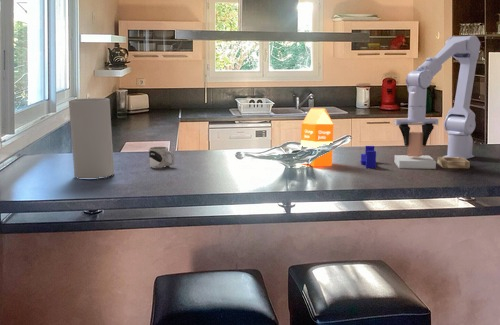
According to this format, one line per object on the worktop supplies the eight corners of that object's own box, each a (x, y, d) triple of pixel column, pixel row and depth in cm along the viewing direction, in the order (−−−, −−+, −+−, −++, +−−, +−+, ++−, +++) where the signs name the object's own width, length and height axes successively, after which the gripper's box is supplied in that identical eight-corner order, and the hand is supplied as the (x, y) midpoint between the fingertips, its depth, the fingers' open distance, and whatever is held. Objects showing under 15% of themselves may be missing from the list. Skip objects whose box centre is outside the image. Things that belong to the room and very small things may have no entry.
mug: (145, 167, 189) (145, 148, 188) (157, 164, 195) (156, 146, 194) (169, 169, 185) (168, 150, 184) (180, 166, 191) (179, 147, 189)
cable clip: (360, 162, 195) (361, 145, 194) (373, 162, 194) (374, 146, 193) (361, 168, 183) (362, 151, 182) (375, 169, 182) (376, 151, 181)
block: (422, 155, 187) (423, 132, 185) (418, 157, 183) (419, 133, 182) (411, 154, 189) (412, 131, 187) (407, 155, 186) (408, 133, 184)
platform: (428, 162, 192) (429, 155, 191) (435, 168, 181) (436, 161, 180) (394, 162, 193) (394, 155, 193) (399, 168, 182) (399, 161, 182)
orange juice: (313, 166, 184) (315, 108, 182) (299, 163, 192) (301, 107, 190) (332, 165, 188) (334, 108, 186) (317, 163, 196) (319, 108, 194)
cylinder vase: (72, 174, 179) (67, 99, 175) (111, 170, 184) (106, 97, 179) (76, 182, 168) (70, 101, 163) (117, 178, 173) (112, 100, 168)
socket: (462, 163, 189) (462, 157, 189) (469, 168, 181) (469, 161, 180) (437, 163, 190) (437, 156, 190) (443, 167, 182) (443, 161, 181)
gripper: (433, 104, 187) (431, 143, 190) (392, 105, 187) (391, 144, 189) (441, 106, 180) (439, 146, 183) (398, 107, 180) (397, 147, 182)
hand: (415, 145), depth 186 cm, fingers closed on block, 5 cm apart
